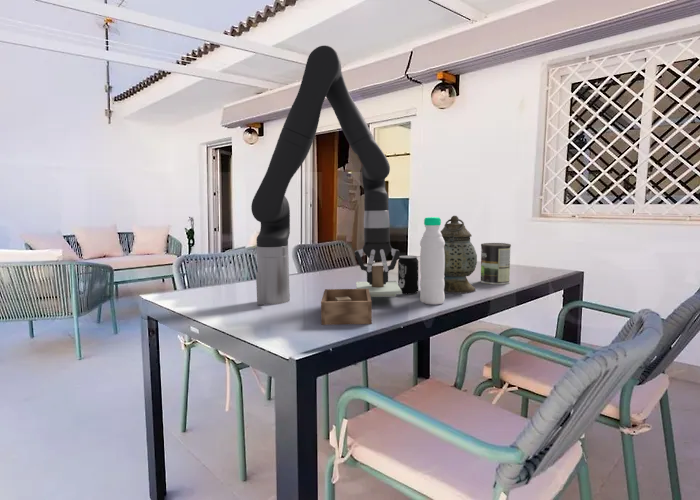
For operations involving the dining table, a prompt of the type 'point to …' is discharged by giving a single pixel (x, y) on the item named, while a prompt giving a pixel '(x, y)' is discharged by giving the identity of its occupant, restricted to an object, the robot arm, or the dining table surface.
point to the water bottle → (432, 263)
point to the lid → (380, 284)
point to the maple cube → (342, 299)
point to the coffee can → (495, 263)
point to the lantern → (458, 257)
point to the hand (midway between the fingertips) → (377, 283)
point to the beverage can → (408, 274)
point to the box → (346, 307)
